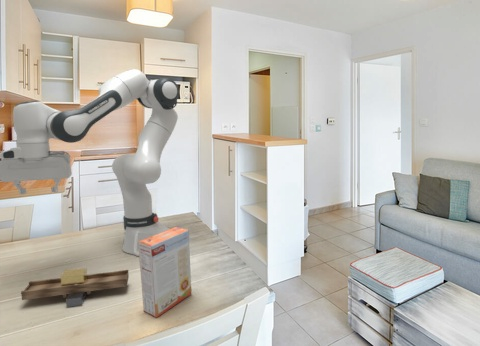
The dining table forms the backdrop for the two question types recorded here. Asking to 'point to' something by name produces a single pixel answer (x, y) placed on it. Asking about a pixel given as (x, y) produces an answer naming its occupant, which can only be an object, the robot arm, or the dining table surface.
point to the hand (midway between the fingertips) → (39, 192)
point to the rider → (74, 277)
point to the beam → (75, 285)
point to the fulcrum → (75, 299)
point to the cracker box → (165, 270)
